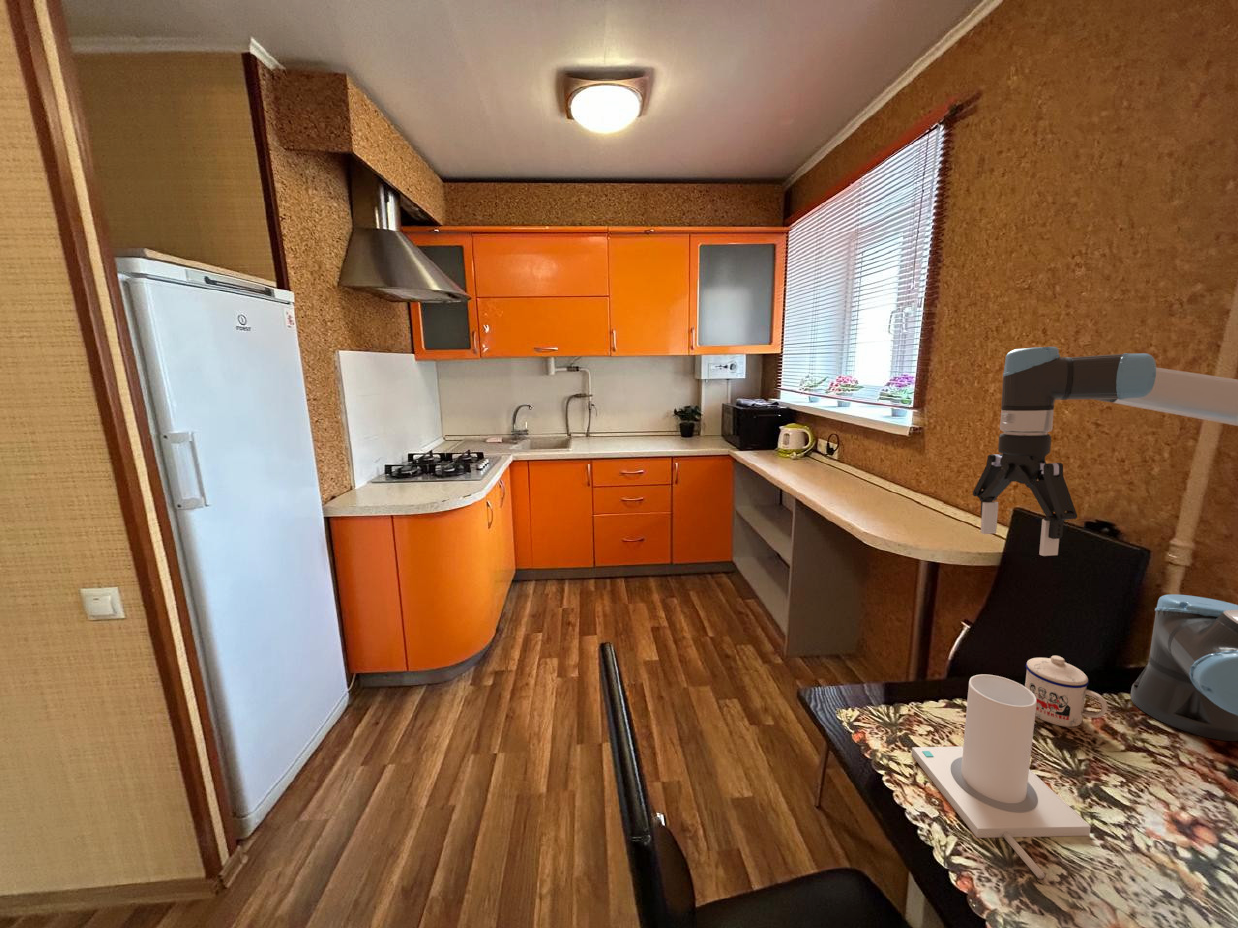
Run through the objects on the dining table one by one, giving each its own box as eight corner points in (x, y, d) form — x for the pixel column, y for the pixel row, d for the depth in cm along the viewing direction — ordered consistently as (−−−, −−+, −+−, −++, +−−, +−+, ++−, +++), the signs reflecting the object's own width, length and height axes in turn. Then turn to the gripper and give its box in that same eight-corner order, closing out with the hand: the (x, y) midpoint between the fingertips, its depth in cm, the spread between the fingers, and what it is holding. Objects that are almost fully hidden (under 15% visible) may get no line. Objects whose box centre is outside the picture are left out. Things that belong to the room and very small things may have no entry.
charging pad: (1003, 752, 86) (1004, 744, 86) (1132, 876, 64) (1134, 865, 64) (911, 754, 86) (912, 746, 86) (1009, 879, 64) (1010, 868, 64)
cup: (1038, 807, 73) (1050, 709, 70) (976, 799, 75) (985, 703, 72) (1007, 765, 81) (1016, 676, 78) (951, 759, 83) (959, 671, 80)
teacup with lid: (1013, 708, 97) (1019, 654, 95) (1031, 692, 102) (1037, 640, 100) (1095, 744, 87) (1103, 684, 85) (1111, 725, 92) (1119, 667, 90)
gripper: (956, 428, 103) (950, 526, 106) (1069, 440, 78) (1057, 567, 81) (991, 427, 103) (984, 524, 106) (1114, 438, 79) (1101, 564, 82)
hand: (1016, 543), depth 94 cm, fingers open, 13 cm apart
